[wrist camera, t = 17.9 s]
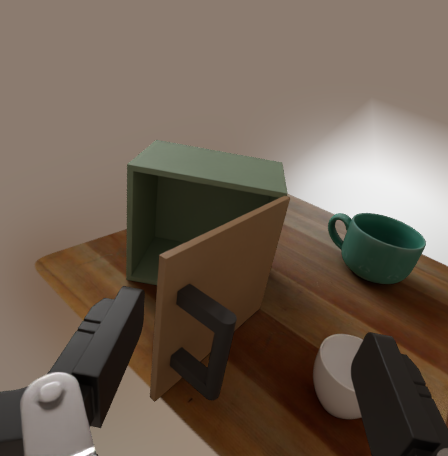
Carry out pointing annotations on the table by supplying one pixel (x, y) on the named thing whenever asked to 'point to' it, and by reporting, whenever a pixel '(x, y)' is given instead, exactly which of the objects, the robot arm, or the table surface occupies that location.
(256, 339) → the table surface
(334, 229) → the mug
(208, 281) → the cupboard door
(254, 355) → the table surface
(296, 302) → the table surface
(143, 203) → the cupboard
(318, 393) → the cup
